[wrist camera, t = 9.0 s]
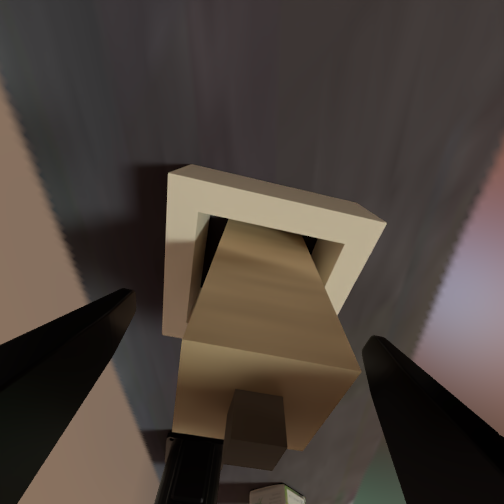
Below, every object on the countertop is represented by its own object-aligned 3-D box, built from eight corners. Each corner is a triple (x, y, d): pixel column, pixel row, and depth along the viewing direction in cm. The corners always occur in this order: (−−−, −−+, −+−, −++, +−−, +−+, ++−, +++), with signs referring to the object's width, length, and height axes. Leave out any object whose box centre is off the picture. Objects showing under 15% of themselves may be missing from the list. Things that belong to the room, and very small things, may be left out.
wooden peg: (280, 290, 14) (309, 499, 6) (218, 277, 13) (158, 479, 5) (300, 233, 12) (384, 423, 4) (229, 216, 12) (163, 387, 4)
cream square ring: (302, 321, 15) (312, 361, 12) (180, 298, 14) (162, 334, 12) (356, 202, 11) (387, 222, 8) (191, 163, 10) (168, 172, 8)
